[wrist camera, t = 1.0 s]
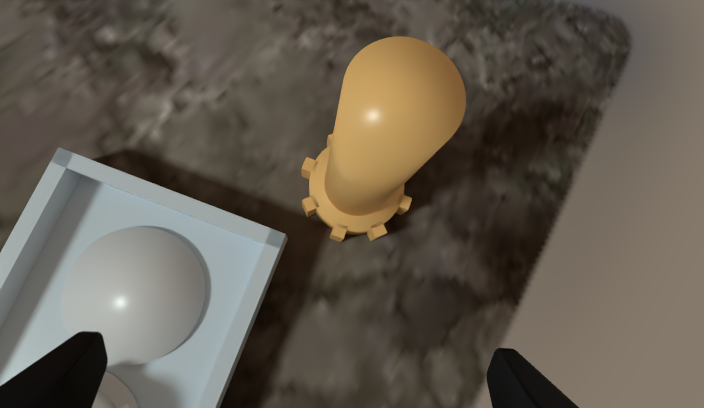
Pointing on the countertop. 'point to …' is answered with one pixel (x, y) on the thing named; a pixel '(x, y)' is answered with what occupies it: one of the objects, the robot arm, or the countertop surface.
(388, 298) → the countertop surface
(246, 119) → the countertop surface
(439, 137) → the tan gear peg
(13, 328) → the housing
